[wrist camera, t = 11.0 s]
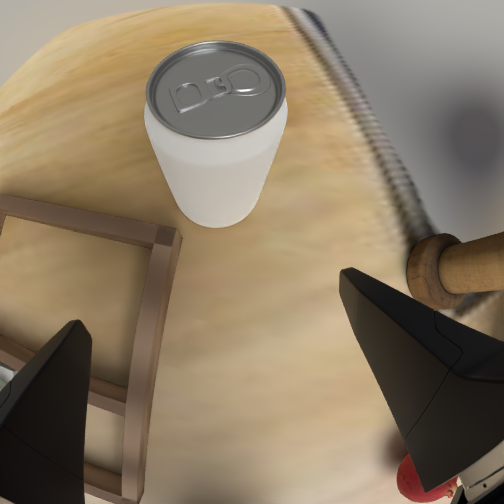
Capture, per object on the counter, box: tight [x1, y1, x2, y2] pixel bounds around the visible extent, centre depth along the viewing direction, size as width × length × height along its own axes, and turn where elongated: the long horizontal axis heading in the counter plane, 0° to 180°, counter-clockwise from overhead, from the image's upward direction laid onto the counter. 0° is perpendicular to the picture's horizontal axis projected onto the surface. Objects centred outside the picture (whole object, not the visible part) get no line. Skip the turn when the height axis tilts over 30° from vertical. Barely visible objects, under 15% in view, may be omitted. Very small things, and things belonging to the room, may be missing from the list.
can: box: [144, 41, 287, 228], centre depth 16 cm, size 6×6×12 cm
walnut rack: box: [0, 194, 183, 504], centre depth 17 cm, size 22×19×3 cm
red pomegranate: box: [397, 454, 458, 503], centre depth 16 cm, size 6×6×8 cm
